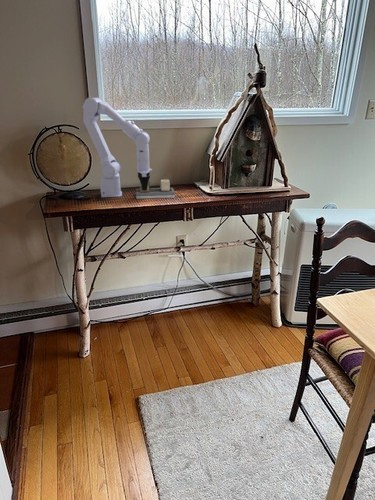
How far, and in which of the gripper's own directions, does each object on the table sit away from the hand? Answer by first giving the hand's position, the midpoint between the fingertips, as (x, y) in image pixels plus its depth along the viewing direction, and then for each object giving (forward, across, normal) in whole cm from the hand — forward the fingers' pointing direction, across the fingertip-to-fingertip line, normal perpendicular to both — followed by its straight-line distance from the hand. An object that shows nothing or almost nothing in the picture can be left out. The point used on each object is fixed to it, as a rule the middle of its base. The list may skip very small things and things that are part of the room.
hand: (144, 188), depth 172 cm
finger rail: (+3, 0, -5) cm, 6 cm away
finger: (+2, 0, 0) cm, 2 cm away
